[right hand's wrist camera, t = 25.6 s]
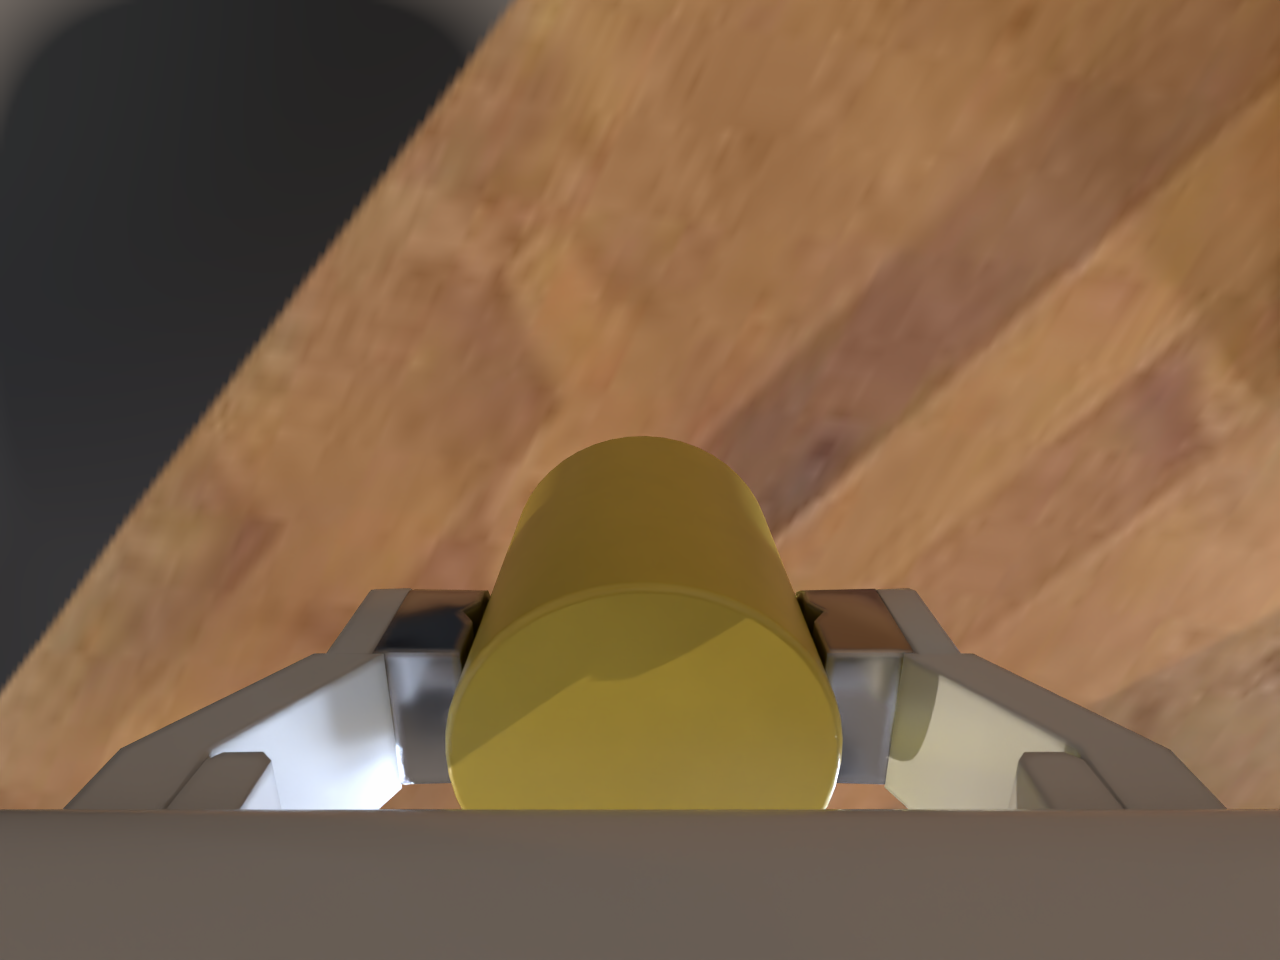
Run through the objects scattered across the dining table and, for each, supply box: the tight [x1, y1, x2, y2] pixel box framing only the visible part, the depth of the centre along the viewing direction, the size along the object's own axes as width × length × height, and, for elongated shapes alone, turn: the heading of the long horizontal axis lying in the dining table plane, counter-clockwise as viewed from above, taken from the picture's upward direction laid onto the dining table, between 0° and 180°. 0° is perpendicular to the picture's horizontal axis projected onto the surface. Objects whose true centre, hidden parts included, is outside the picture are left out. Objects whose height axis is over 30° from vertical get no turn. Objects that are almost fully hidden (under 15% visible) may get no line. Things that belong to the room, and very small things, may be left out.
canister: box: [445, 436, 843, 809], centre depth 10 cm, size 4×4×5 cm
